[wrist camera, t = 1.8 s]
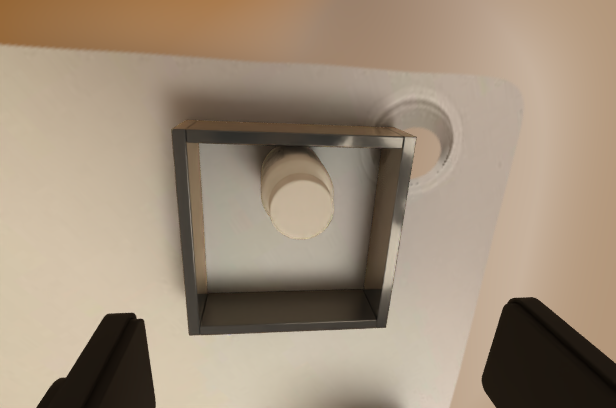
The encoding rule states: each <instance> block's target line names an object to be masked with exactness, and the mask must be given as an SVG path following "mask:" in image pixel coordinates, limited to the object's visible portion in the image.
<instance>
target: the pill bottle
mask: <svg viewBox="0 0 616 408" xmlns="http://www.w3.org/2000/svg"><path fill="white" fill-rule="evenodd" d="M333 195H334V190H333V184H332V181H331V178H330V176H329V174H328V172H327V171H326V169H325V167H324V166H323V164H322V163H321V161H320V160H319V158H318V157H317V155H316V154H315V153H314V152H313V151H312V150H311V149H310V148H309V147H307V146H277V147H275V148H274V149H273V150H271V151H270V152H269V153H268V155H267V156H266V157H265V159H264V161H263V164H262V169H261V199H262V203H263V206H264V209H265V211H266V212H267V214H268V215H269V216H270V218H271V221H272V223H273V225H274V226H275V228H276V229H277V230H278V231H279V232H280V233H281V234H283V235H285V236H287V237H289V238H292V239H309V238H312V237H314V236H317V235H318V234H320V233H321V232H323V231H324V230H325V229H326V228H327V226H328V225H329V223H330V221H331V219H332V216H333V212H334V204H333Z"/></svg>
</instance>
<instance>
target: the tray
mask: <svg viewBox="0 0 616 408" xmlns="http://www.w3.org/2000/svg"><path fill="white" fill-rule="evenodd" d="M171 133H172V145H173V156H174V168H175V180H176V191H177V203H178V215H179V226H180V238H181V250H182V261H183V273H184V285H185V296H186V308H187V320H188V331H189V335H190V336H191V335H221V334H245V333H269V332H293V331H317V330H342V329H366V328H386V324H387V318H388V311H389V305H390V299H391V293H392V287H393V281H394V274H395V268H396V262H397V256H398V250H399V243H400V237H401V231H402V225H403V219H404V213H405V206H406V200H407V194H408V188H409V182H410V175H411V169H412V163H413V157H414V150H415V144H416V138H417V137H416V136H413V135H411V134H408V133H406V132H404V131H402V130H399V129H397V128H395V127H372V126H345V125H317V124H290V123H263V122H235V121H208V120H198V121H197V120H185V121H183V122H182V123H180V124H179V125H177V126H176V127H174V128H172V129H171ZM199 143H207V144H243V145H278V146H314V147H349V148H381V155H380V163H379V170H378V178H377V186H376V194H375V202H374V210H373V218H372V225H371V233H370V241H369V249H368V257H367V265H366V272H365V280H364V288H363V289H355V290H317V291H279V292H241V293H208V289H207V272H206V255H205V238H204V221H203V204H202V187H201V170H200V153H199Z"/></svg>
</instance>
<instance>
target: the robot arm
mask: <svg viewBox="0 0 616 408" xmlns="http://www.w3.org/2000/svg"><path fill="white" fill-rule="evenodd" d="M482 385H483V388H484V390H485V392H486V394H487V395H488V397H489V398H490V399H491V401H492V402H493V404H494V405H495V407H496V408H616V363H614V362H613V361H612V360H611V359H610V358H608V357H607V356H606V355H605V354H604V353H602V352H601V351H600V350H599V349H597V348H596V347H595V346H594V345H592V344H591V343H590V342H589V341H588V340H587V339H585V338H584V337H583V336H582V335H581V334H579V333H578V332H577V331H576V330H575V329H573V328H572V327H571V326H570V325H568V324H567V323H566V322H565V321H564V320H562V319H561V318H560V317H559V316H558V315H556V314H555V313H554V312H553V311H552V310H550V309H549V308H548V307H547V306H545V305H544V304H543V303H542V302H541V301H539V300H538V299H536V298H533V297H528V298H512V299H510V300H509V302H508V303H507V304H506V305H505V306H504V307H503V310H502V313H501V316H500V319H499V323H498V326H497V329H496V333H495V336H494V339H493V342H492V346H491V349H490V352H489V356H488V359H487V362H486V365H485V369H484V372H483V375H482ZM155 407H156V402H155V394H154V387H153V380H152V373H151V366H150V359H149V352H148V344H147V337H146V330H145V324H144V320H143V319H137V318H136V315H135V314H134V313H115V314H107V315H106V316H105V317H104V318H103V320H102V321H101V323H100V324H99V326H98V328H97V329H96V331H95V332H94V334H93V336H92V337H91V339H90V340H89V342H88V344H87V345H86V347H85V348H84V350H83V351H82V353H81V355H80V356H79V358H78V359H77V361H76V363H75V364H74V366H73V367H72V369H71V371H70V372H69V374H68V375H67V377H66V378H59V379H58V380H56V381H55V382H54V383H53V384H52V385H51V387H50V388H49V389H48V391H47V392H46V394H45V395H44V397H43V398H42V400H41V401H40V403H39V404H38V406H37V407H36V408H155Z"/></svg>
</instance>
